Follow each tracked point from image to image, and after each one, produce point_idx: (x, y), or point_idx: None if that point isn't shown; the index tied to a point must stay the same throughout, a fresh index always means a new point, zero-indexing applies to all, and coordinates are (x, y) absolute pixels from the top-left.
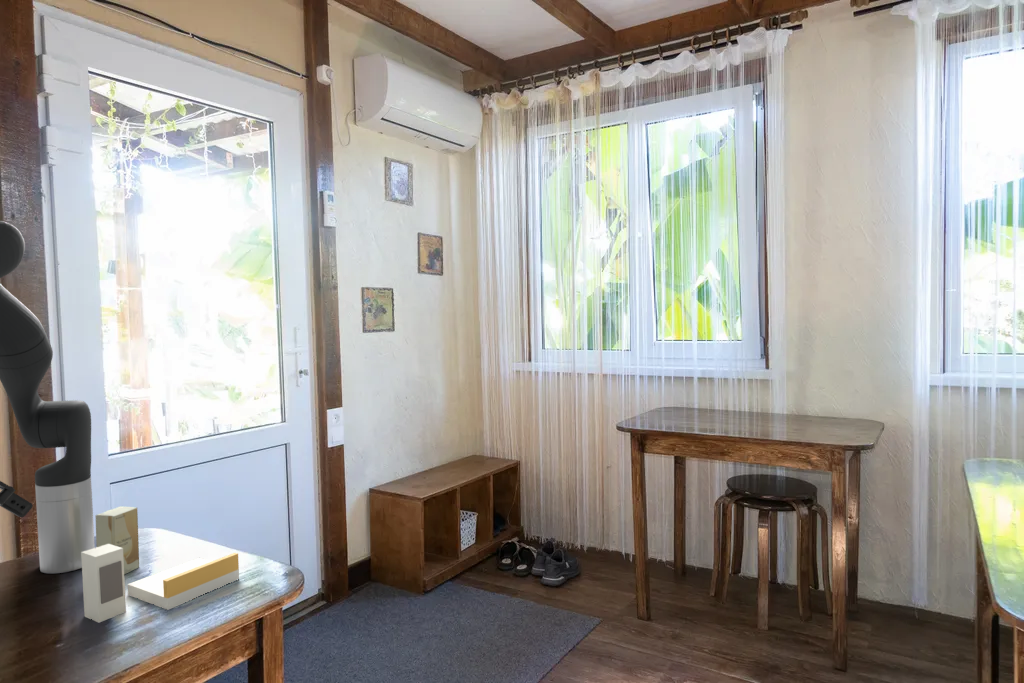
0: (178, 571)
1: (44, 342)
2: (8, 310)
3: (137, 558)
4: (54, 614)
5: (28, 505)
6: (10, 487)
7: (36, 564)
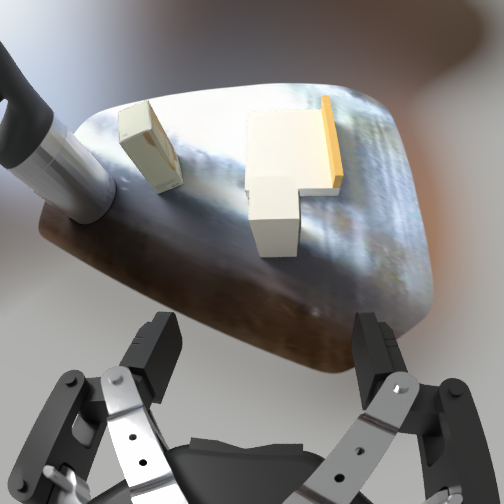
0: (266, 141)
1: None
2: None
3: (173, 148)
4: (215, 274)
5: (389, 328)
6: (471, 398)
7: (61, 218)
